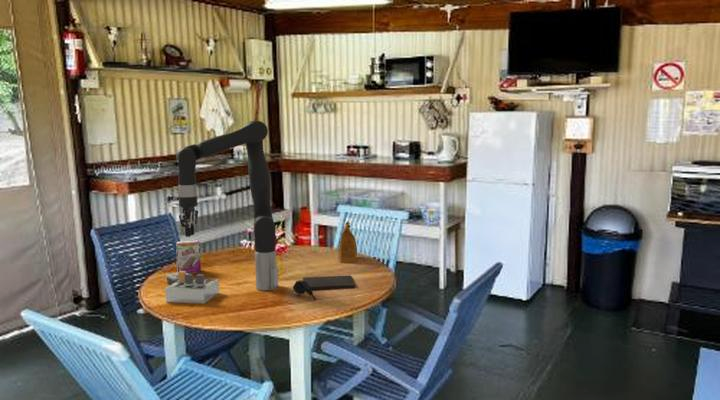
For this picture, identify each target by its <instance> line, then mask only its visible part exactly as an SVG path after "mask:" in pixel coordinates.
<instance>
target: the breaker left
mask: <svg viewBox="0 0 720 400" xmlns="http://www.w3.org/2000/svg"><path fill="white" fill-rule="evenodd" d="M195 279H196V284H195V286H201V287H202V286H204V285H205V284H206V282H204V279H205V274H203V273H202V274H201V273H197V274H196V275H195Z"/></svg>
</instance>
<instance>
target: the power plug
mask: <svg viewBox="0 0 720 400" xmlns="http://www.w3.org/2000/svg"><path fill="white" fill-rule="evenodd" d="M292 289H293V295H296V294H297V295H304V294H305V293H306V294H308V295H309V296H310V297H312V298H313V300H315V301H316V300H317V298H316V297H315V296H314V291H312V290H311V288H310V287H309V285H308V284H307V282H306V281H303V279H302V280H301V279H300V280H296V281H295V283H294V284H293V286H292Z"/></svg>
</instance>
